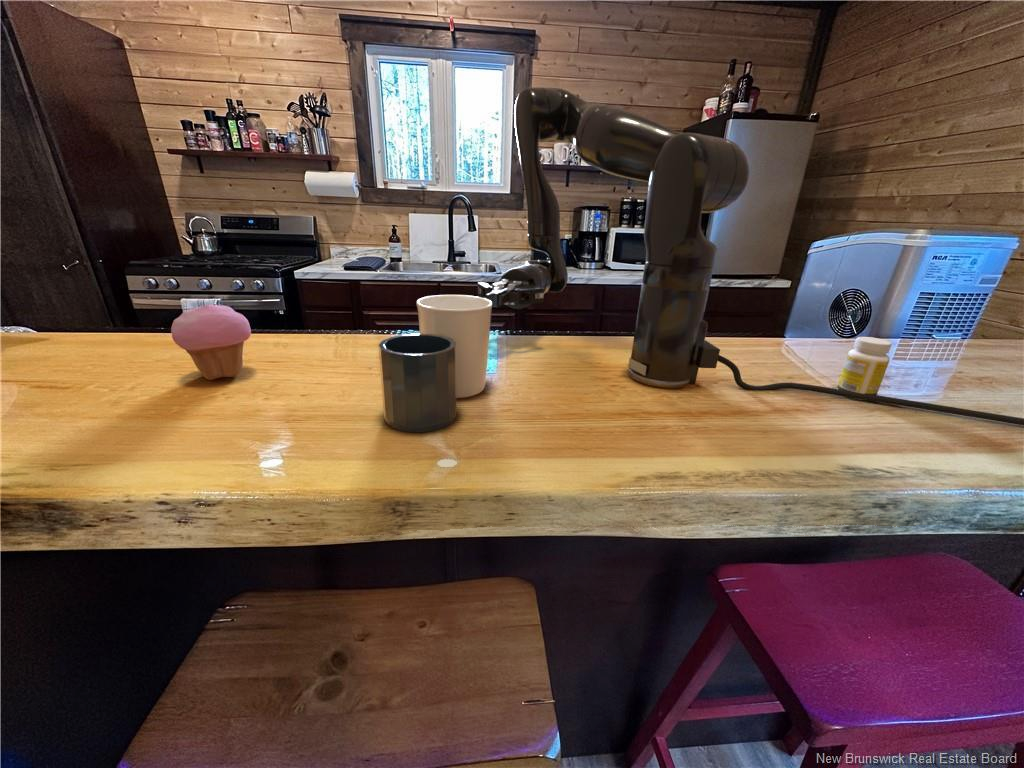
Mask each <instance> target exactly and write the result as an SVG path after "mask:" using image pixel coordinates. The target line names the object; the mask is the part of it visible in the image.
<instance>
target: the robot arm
mask: <svg viewBox="0 0 1024 768" xmlns="http://www.w3.org/2000/svg"><path fill="white" fill-rule="evenodd" d="M514 128H515V136H516V143H517V148H518V156H519V163H520V169H521V174H522V175H521V176H522V181H523V187H524V193H525V200H526V201H525V202H526V215H527V216H526V219H527V221H526V222H527V243H528V246H529V248H530V249H532V250H534V251H539V252H541V253H545V254H546V255H547V257H548V258H549V259H531V260H527V261H525V262H524V263H523V264H522V265H518V266H516V267H513V268H510V269H508V270H507V271H505V272H504V273H503V274H502V275H501V276H500V279H499V281H498V282H494V283H492V284H491V285H489V283H487V282H483V281H480V282H479V281H478V282H477V297H481V298H485V299H488V300H490V301H491V302H492V304H493V305H492V308H499V307H501V306H503V305H505V306H508V307H510V308H512V309H516V310H521V309H525V308H527V307H529V306H531V305H532V304H542V303H544V300H545V299H544V298H545V294H546V293H559V292H562V291H563V290H564V289H565V288H566V286H567V284H568V278H569V273H568V269H567V266H566V262H565V258H564V255H563V249H562V245H561V216H560V215H561V213H560V212H561V211H560V210H561V209H560V205H559V201H558V198H557V196H556V194H555V191H554V190H553V188H552V186H551V184H550V182H549V179H548V178H547V176H546V173H545V171H544V169H543V166H542V162H541V157H540V148H539V147H540V145H539V144H540V143H569V144H572V145H574V148H575V152H576V154H577V156H578V157H579V159H580V160H581V161H583V162H584V163H585V164H587V165H589V166H590V167H592V168H595V169H596V170H599V171H601V172H602V173H606V174H608V175H612V176H615V177H619V178H623V179H627V180H633V181H637V182H644V183H648V186H647V187H648V188H647V197H646V210H645V220H644V228H643V239H644V240H643V241H644V246H645V252H646V254H645V261H644V266H643V273H642V281H641V287H640V295H639V300H638V306H637V307H638V308H637V313H636V321H635V325H634V326H635V327H634V332H633V333H634V334H633V335H634V336H633V339H632V340H633V341H632V346H631V347H632V348H631V354H630V357H629V359H628V365H627V367H628V369H627V375H628V376H629V377H630V378H631V379H633V380H634V381H635V382H636V381H637V382H638V383H642V384H644V385H648V386H652V387H657V388H666V389H669V388H670V389H673V388H674V389H675V388H684V387H686V386H691V385H692V386H696V382H697V378H698V374H699V369H717V365H718V363H720V364H722V365H725V366H726V367H728V369H730V371H731V372H732V374H733V379H734V383H735V384H736V385H737V386H738V387H739V388H741V389H743V390H745V391H752V392H753V391H754V392H755V391H756V392H757V391H758V392H759V391H760V392H761V391H762V392H763V391H764V392H765V391H777V390H783V389H787V390H799V391H806V392H814V393H820V394H824V395H825V394H826V395H832V396H838V397H843V398H849V397H850V398H849V399H853V398H856V399H855V400H859V399H863V400H862V401H869V402H876V403H882V404H887V405H893V406H901V407H907V408H914V409H920V410H926V411H933V412H938V413H946V414H949V415H957V416H962V417H968V418H975V419H982V420H986V421H993V422H999V423H1006V424H1012V425H1016V426H1022V427H1023V426H1024V417H1018V416H1012V415H1005V414H999V413H993V412H985V411H980V410H973V409H966V408H961V407H954V406H947V405H941V404H936V403H930V402H924V401H917V400H910V399H904V398H897V397H892V396H885V395H878V394H877V395H872V394H862V393H857V392H852V391H846V390H840V389H837V388H833V387H827V386H821V385H815V384H814V385H813V384H807V383H800V382H799V383H798V382H787V381H785V382H776V383H769V384H764V385H751V384H750V383H749V384H748V383H746V382H744V381H743V379H742V377H741V371H740V369H739V367H738V366H737V365H736V364H735V363H734V362H733V361H731V360H730V359H728V358H727V357H725V356H722V355H721V354H720V353H721V349H720V348H719V347H717V346H716V345H714V344H712V343H711V342H709V341H707V340H706V336H707V331H708V325H709V324H708V321H705V320H704V317H705V316H704V315H705V312H706V307H707V302H708V297H709V292H710V288H711V287H710V286H711V284H712V283H711V282H712V277H713V272H714V267H715V264H716V258H717V252H718V250H717V246H716V245H715V244H714V243H713V242H712V241H710V240H709V239H708V238H707V237H706V236H705V235H704V233H703V230H702V226H701V225H702V214H709V213H710V214H711V213H715V212H718V211H721V210H724V209H725V208H727V207H729V206H731V205H732V204H733V203H735V202H736V201H737V200H738V199H739V198H740V197H741V195H742V194H743V192H744V191H745V190H746V187H747V185H748V182H749V178H750V177H749V176H750V165H749V162H748V158H747V156H746V154H745V152H744V151H743V149H742V148H741V147H740V145H738V144H737V143H735V142H734V141H732V140H730V139H727V138H725V137H719V136H713V135H707V134H702V133H696V132H679V131H676V130H674V129H671V128H669V127H667V126H665V125H663V124H661V123H658V122H657V121H655V120H652V119H650V118H647V117H645V116H643V115H640V114H638V113H635V112H633V111H630V110H628V109H624V108H622V107H618V106H615V105H610V104H606V103H601V102H589V101H587V100H585V99H583V98H581V97H579V96H577V95H575V94H574V93H572V92H570V91H569V90H567V89H564V88H560V87H541V86H537V87H535V86H531V87H530V86H529V87H524V88H523V89H521V91H520V92H519V93H518V95H517V97H516V100H515V104H514Z"/></svg>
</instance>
